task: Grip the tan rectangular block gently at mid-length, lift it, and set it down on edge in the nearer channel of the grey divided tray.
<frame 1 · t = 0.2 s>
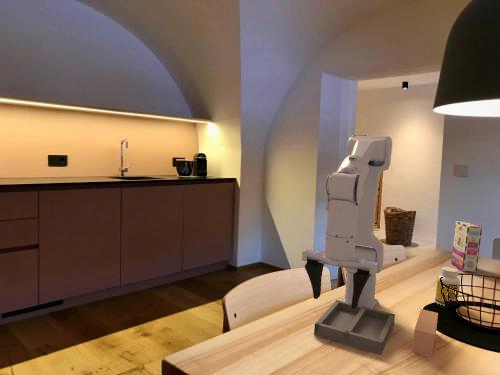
hand: (335, 301, 76), 10 cm above the table, tool pointing down, fingers open, 7 cm apart
candy bar box: (463, 268, 140), on the table
supplement bottle: (445, 304, 104), on the table
tan rectangular block: (424, 343, 82), on the table
grey divided tray: (355, 329, 86), on the table
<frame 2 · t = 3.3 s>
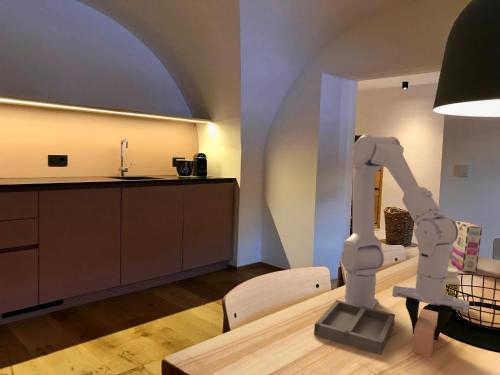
hand: (425, 335, 82), 1 cm above the table, tool pointing down, fingers closed on tan rectangular block, 3 cm apart
tan rectangular block: (424, 342, 82), on the table, touching gripper
everything else where it was.
when the fingers open (3 cm above the table, at t = 9.0 s): tan rectangular block drops 1 cm, resting on grey divided tray.
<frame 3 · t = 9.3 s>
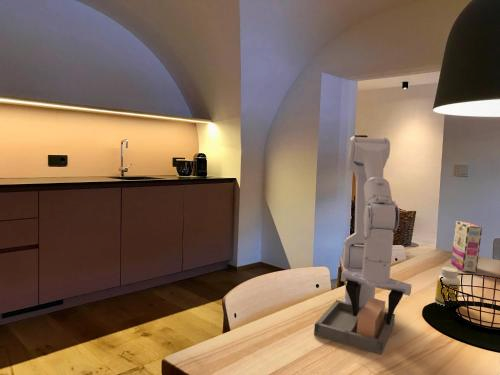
hand: (371, 318, 84), 3 cm above the table, tool pointing down, fingers open, 6 cm apart
tan rectangular block: (370, 330, 85), point 1 cm above the table, touching grey divided tray
everything else where it was.
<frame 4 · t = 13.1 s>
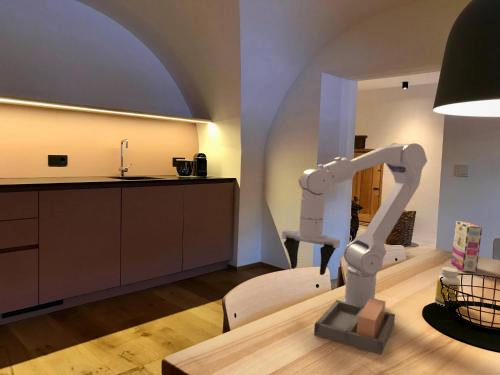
hand: (307, 270, 96), 9 cm above the table, tool pointing down, fingers open, 7 cm apart
nothing on the table moved.
at the end: tan rectangular block 0.0 cm from the target spot on the grey divided tray, point 0.8 cm above the grey divided tray's base; tan rectangular block tilted 0°; the gripper is holding nothing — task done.
